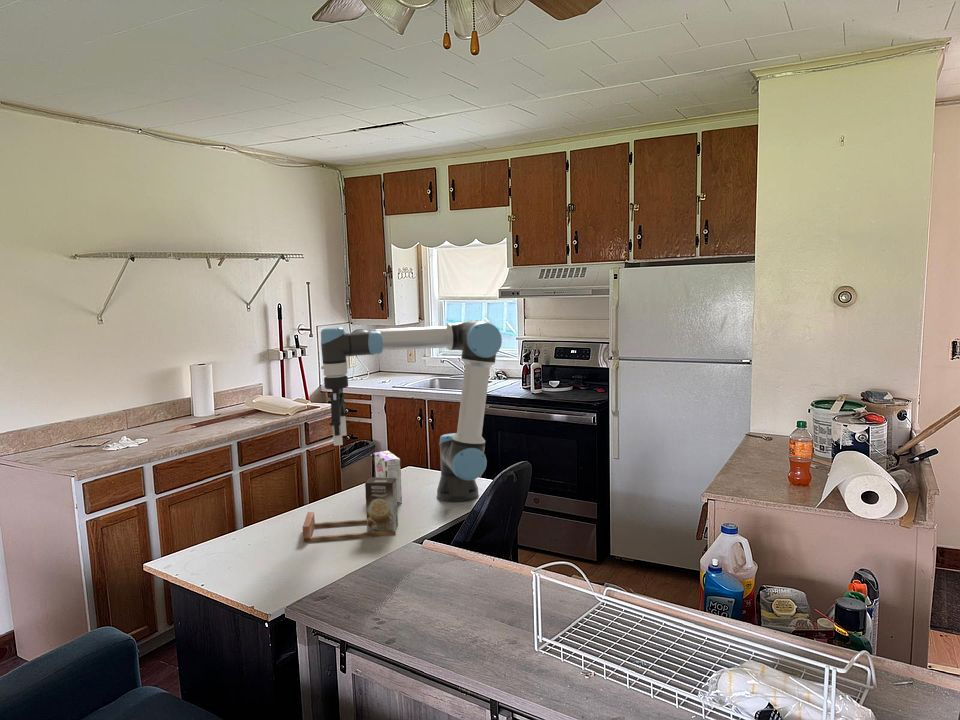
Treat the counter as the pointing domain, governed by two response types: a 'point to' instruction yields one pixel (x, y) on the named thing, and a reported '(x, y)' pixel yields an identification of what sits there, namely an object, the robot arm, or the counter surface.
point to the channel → (310, 525)
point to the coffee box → (381, 504)
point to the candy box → (389, 469)
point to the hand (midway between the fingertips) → (340, 440)
